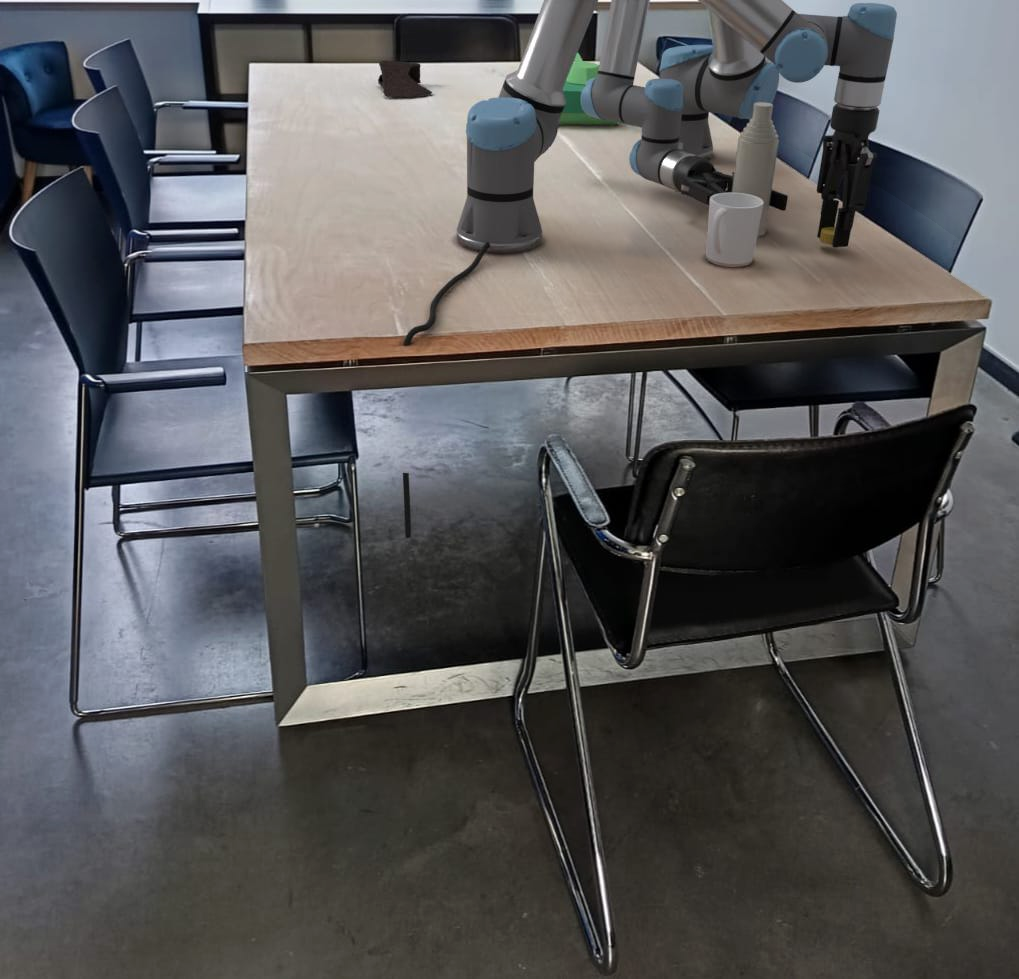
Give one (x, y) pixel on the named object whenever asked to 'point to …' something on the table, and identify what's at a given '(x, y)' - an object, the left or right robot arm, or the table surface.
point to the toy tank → (579, 94)
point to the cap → (827, 235)
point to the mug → (733, 228)
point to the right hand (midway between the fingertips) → (768, 206)
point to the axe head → (401, 79)
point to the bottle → (757, 159)
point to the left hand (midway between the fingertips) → (832, 241)
